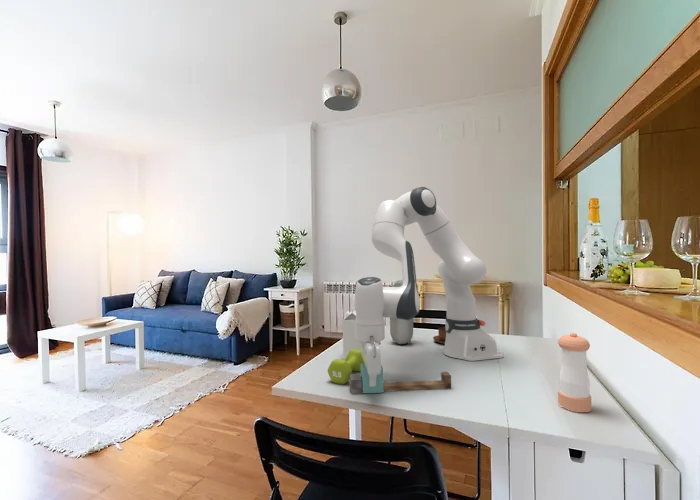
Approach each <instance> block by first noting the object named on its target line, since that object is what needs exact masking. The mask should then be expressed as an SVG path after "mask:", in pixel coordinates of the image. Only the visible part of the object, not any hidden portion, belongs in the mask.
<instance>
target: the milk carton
mask: <svg viewBox="0 0 700 500" xmlns="http://www.w3.org/2000/svg"><path fill="white" fill-rule="evenodd" d="M355 319H356V311H355V306H353V307H352V309H351V311H349V310H348V311H346V312H345V313H344V318H343V320H342V356H343V357H342V358H343V359H342V360H345V359H346V356H347V354H348V353H349V351H350V350H351V349H360V344H359V341H358V340H356V339H355Z"/></svg>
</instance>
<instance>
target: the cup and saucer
mask: <svg viewBox="0 0 700 500" xmlns="http://www.w3.org/2000/svg"><path fill="white" fill-rule="evenodd" d="M437 332H438V335H435V336H433V337H432V339H433V340H434V342H436V343H439V344H441V345H445V340H446V329H445V326H441V327H438V331H437Z"/></svg>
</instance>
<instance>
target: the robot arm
mask: <svg viewBox="0 0 700 500" xmlns="http://www.w3.org/2000/svg"><path fill="white" fill-rule="evenodd" d="M414 223H417V224H418V226H419V228H420V230H421V232H422V234H423V235H424V237H425V239H426V241H427V243H428V244H429V246H430V247H431V250H432V251H433V252H434V253H435V254H436V255H437V256H439V257H440V259H441V260H440V261H439V262H438V267H437V270H438V273H439V275H440V277H441V279H442V280H441V281H442V284H443V290H444V293H445V300H446V302H445V303H446V304H445V305H446V317H445V324H444V325H445V326H444V327H445V329H446V340H445V344H444V346H443V349H442V350H443V351H442V353H443V354H444V356H445V355H446V356H447V357H450V358H453V359H455V358H456V359H460V360H464V361H465V360H466V361H469V362H475V361H481V360H482V361H484V360H492V359H502V358H504V353H503V352H502V351H501V350H499V349H498V346H497V343H496V340H495V338H494V337H493V336H491V335H490V334H489V333H487V332H486V331H485V330H484V329H482V327H485V326H486V324H487V323H486V322H485V320H481V319H478V318H477V310H476V308H477V306H476V305H477V303H476V302H477V301H476V300H477V299H476V297H475V296H474V294H473V291H472V289H471V285H474V284H478V283H481V282H482V281H483V280H484V279H485V277H486V275H487V267H486V264H485V262H484V261H483V260H482V259H480V258H478V257H477V256H476V255H475V254H474V253H473V252H472V251H471V249H470V248H469V247H468V246H467V245H466V243H464V242H463V240H462V238H461V237H459V235H458V233H457V231H456V230H455V228H454V226H453V224H452V223H451V221H450V220H449V218H448V216H447V214H446V213H445V212H444V211H443V209H442V207H440V206H439V204H438V203H437V198H436V195H435V194H434V193H433V191H432V189H429V188H428V187H426V186H420V187H416V188H414V189H412V190H410V191H408V192H405V193H403V194H402V195H400V196H399V197H398V198H396V199H395V200H394V199H387V200H384V201H381V203H380V204H379V205H378V208H377V210H376V213H375V216H374V219H373V223H372V224H373V225H372V229H371V231H372V232H371V242H372V245H373V246H374V248H375V249H376V250H377V251H379V253H381V254H383V255H385V256H387V257H390V258H392V259H395V260H397V261H398V262H400V263H401V276H402V280H403V285H402V286H400V287H393V286H384V285H383V282H382V279H381V278H378V277H376V276H368V277H362V278H360V279H359V280H357V281H356V284H355V285H356V286H355V290H354V310H355V311H356V319H355V339H356V340H358V341H359V344H360V351H361V355H362V358H363V361H364V364H365V366H366V369H367V372H368V374H369V385H370V386H376V377H377V375H379V374H380V373H381V365H382V358H381V357H382V355H381V354H382V353H381V349H380V348H381V346H380V345H381V342H382V341H384V340H385V338H386V337H385V333H386V332H385V331H386V330H385V323H386V321H385V319H384V318H388V319H390V318H398V319H404V320H410V319H412V318H413V319H414V318H415V317H416V316H417V315H418V314H419V313H420V309H421V301H420V297H419V292H418V286H417V285H418V284H417V274H416V266H415V257H414V256H415V255H414V251H413V250H414V249H413V247H412V243H411V242H410V241H408V240H406V237H405V227H406V226H409V225H412V224H414ZM481 326H482V327H481Z"/></svg>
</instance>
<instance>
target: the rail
mask: <svg viewBox="0 0 700 500" xmlns="http://www.w3.org/2000/svg"><path fill="white" fill-rule="evenodd" d="M440 374H441V375H440V377H441V378H440V379H437V380H436V379H435V380H415V381H413V380H411V381H410V380H409V381H406V380H405V381H386V382H385V381H383V392H401V391H402V392H403V391H429V390H448V389H449V390H450V389H451V390H452V375H451V373H449V372H448V371H441V372H440ZM349 392H350V393H351V395H353V394H354V395H359V394H360V395H362V394H363V392H362V379H361V373H352V374H350V378H349Z"/></svg>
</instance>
